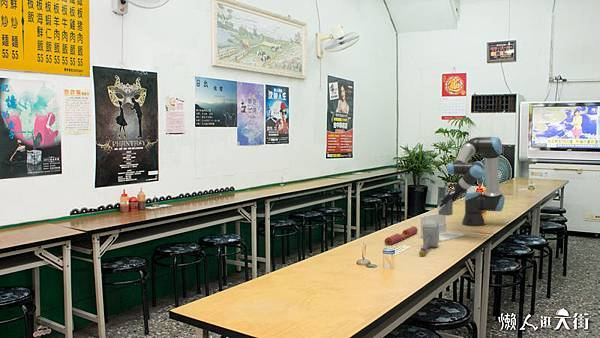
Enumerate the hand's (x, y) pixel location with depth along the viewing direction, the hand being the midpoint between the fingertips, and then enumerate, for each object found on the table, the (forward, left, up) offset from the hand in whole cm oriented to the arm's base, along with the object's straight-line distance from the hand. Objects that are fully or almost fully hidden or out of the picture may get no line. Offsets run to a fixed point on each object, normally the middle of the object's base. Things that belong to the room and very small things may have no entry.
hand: (440, 208), depth 337 cm
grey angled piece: (+19, +38, -18) cm, 46 cm away
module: (-2, +3, -3) cm, 5 cm away
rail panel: (-1, +1, -18) cm, 18 cm away
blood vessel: (+26, +5, -19) cm, 33 cm away
